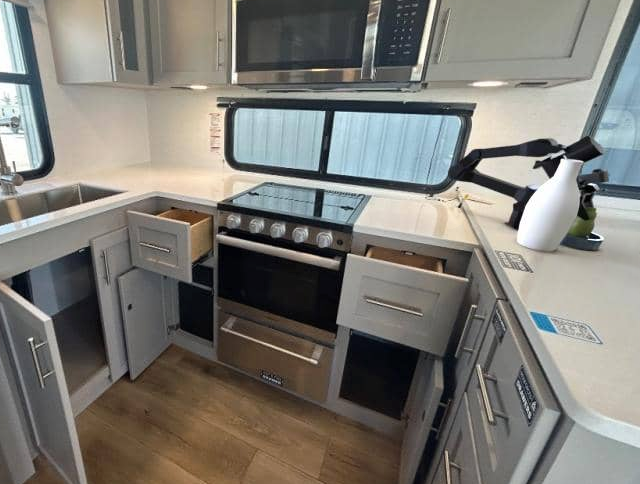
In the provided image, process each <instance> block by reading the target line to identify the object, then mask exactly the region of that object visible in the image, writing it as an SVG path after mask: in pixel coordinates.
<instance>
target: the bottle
mask: <svg viewBox="0 0 640 484" xmlns="http://www.w3.org/2000/svg"><path fill="white" fill-rule="evenodd" d="M583 163H584V162H583V161H579V160H572V159H567V158H566V159H561V163H560V165H559V167H558V169H557V171H556V173H555V175H554V177H552V178H551V179H548V180H547V181H546V182H544V183H543V184H542V185H540V186H539V187H540V188H539V189H538V190H537V191H536V192H535V193H534V194H533V196H532V197H531V198H530V200H529V202H528V203H527V205H526V207H525V210H524V213H523V216H522V219H521V222H520V226H519V230H517V236H516V241H517V243H518V244H519V245H521V246H522V247H526V248H527V249H531V250H534V251H539V252H548V253H550V252H554V251H555V250H557V249H558V247H559V246H560V245H561V244H560V243H561V241H562V240H563V238H564V237H565V236H566V234H567V233H568V231H569V229H570V227H571V225H572V224H573V222H574V220H575V218H576V216H577V213H578V209H579V203H580V193H579V189H578V185H577V182H576V178H577V176H578V173H579V172H580V171H581V167H582V165H584V164H585V163H584V164H583Z"/></svg>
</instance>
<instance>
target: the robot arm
mask: <svg viewBox="0 0 640 484" xmlns="http://www.w3.org/2000/svg"><path fill="white" fill-rule="evenodd" d="M554 154H555V155H556V154H559V155H557V156H554ZM605 154H606V151H605V150H604V147H603V146H602V145H601V143H599V142H598V141H597V140H595V139H594V138H593V137H592V136H591V135H585V136H583V137H582V138H580V139H579V140H577V141H575V142H573V143H571V144H569V145H567V144H561V143H558V141H557V140H556V139H555V138H552V137H551V138H550V137H544V138H536V139H532V140H530V141H525V142H522V143H518V144H514V145H503V146H496V147H495V146H494V147H487V148H486V147H485V148H474V149H472V150H470V151H469V153H467V154H466V155H465V156H464V157H463V158H461V159H460V160H459V161H458V162H456V163H455V164H454V165H451V166H450V167H449V168H448V170H447V176H448V179H450V180H451V181H456V182H462V183H470V184H474V185H477V186H479V187H483V188H485V189H488V190H491V191H493V192H496V193H499V194H502V195H504V196H506V197H509V198H512V199H513V200H515V201H516V202H515V203H512V212H511V214H510V216H509V219H508V221H504V224H505V225H507V227H510V228H512V229H513V230H516V231H519V226H520V222H521V219H522V216H523V213H524V210H525V207H526V205H527V203H528V202H529V200H530V198H531V197H532V196H533V194H534V193H535V192H536V191H537V190H538V189H539V188H540V187H541V186H539V185H537V184H528V185H525V187H524V186H521V185H517V184H515V183H512V182H508V181H506V180H503V179H500V178H497V177H494V176H491V175H488V174H485V173H482V172H480V171H479V170H478V169H477V168H478V166H479V164H480V163H481V161H483V160H484V159H494V158H506V157H524V158H544V159H542V160H539V159H537V160H535V162H534V165H533V166H532V170H538V169H541V168H542V170H543V171H544V173H545V174H546V176H547V177H548V180H550V179H551V178H552V177H554V175H555V173H556V171H557V169H558V167H559V165H560V163H561V159H572V160H579V161H583V162H584V163H583V164H582V165H584V164H586V163H589V162H591V161H592V160H595V159H597V158H600V157H602V156H604V155H605ZM545 157H546V158H545ZM610 176H611V174H610V173H609V171H608V170H605V169H604V168H595V169H593V170H592V172H590V173H584V174H582V173H581V172H580V171H579V173H578V176H577V178H576V182H577V185H578V189H579V193H580V203H579V209H578V213H577V216H578V217H580V218H582V219H583V220H585V221H587V220H589V219H590V217H589V214H588V212H587V210H586V207H590V208H591V207H593V208H595V205H594V201H593V199H594V197H595V196H596V195H597V192H598V191H600V190H601V189H600V187H599V185H598V184H604V183H606V182H610V179H609V177H610Z"/></svg>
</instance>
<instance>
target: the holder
mask: <svg viewBox="0 0 640 484" xmlns="http://www.w3.org/2000/svg"><path fill="white" fill-rule="evenodd" d="M604 240H605V238H604V237H603V236H602V235H600V234H598V233H595V232H593V231H592V232H591V233H590V234H589V235H588V236H587V237H584V238H579V237H575V236H571V235H568V234H566V236H565V237H564V238H563V240H562V241H561V243H560V244H559V245H563V246H564V247H569V248H573V249H578V250H582V251H583V250H585V251H593V250H594V251H595V250H599V249H600V247H601V246H602V244H603V242H604Z"/></svg>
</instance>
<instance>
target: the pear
mask: <svg viewBox="0 0 640 484" xmlns="http://www.w3.org/2000/svg"><path fill="white" fill-rule="evenodd" d="M586 210H587V212H588V214H589V217H590V219H589V220H587V221H585V220H583V219H582V218H580V217H578V216H576V218H575V220H574V222H573V224H572V225H571V227H570V229H569V231H568V233H567V234H568V235H571V236H575V237H579V238H584V237H587V236H588V235H589V234H590V233H591V232H592V233H593V230H594V228H595V225H596V224H595V223H596V222H595V221H596V218H597V215H598V213H597V207H594V208H593V207H591V208H590V207H586Z"/></svg>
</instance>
